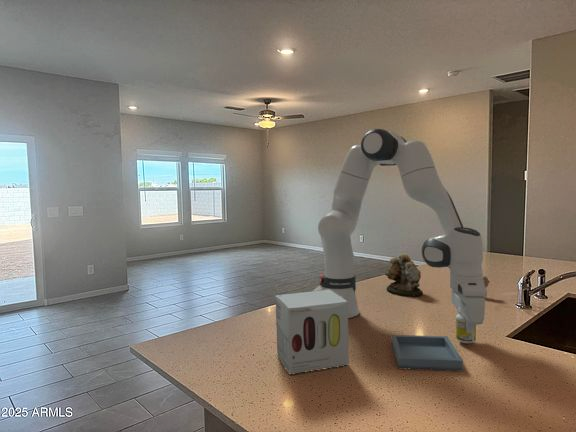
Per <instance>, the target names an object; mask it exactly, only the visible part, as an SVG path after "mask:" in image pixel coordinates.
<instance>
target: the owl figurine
mask: <svg viewBox="0 0 576 432" xmlns="http://www.w3.org/2000/svg"><path fill="white" fill-rule="evenodd" d="M389 264H390V265H389V266H388V269H387V272H385V274H384V275H385V276H387V279H388V280H392V281H393V282H390V284H389V285H387V286H386V291H387V293H391V294H392V295H396V296H399V297H405V298H406V297H409V298H412V297H415V298H417V297H421V296H423V295H424V292H423V290H421V289H420V288H419V287H420V283H419V282H420V280H421V276H422V275H421V274H422V273H421V272H422V271H420V269H419V268H418V267H417V266H416V264H415V263H414V261H413V260H411V258H410V256H409V255H408V254H406V253H401V254H400V255H399V257H397V256H394V257H391V258H390V260H389Z"/></svg>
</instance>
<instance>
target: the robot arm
mask: <svg viewBox="0 0 576 432" xmlns="http://www.w3.org/2000/svg"><path fill="white" fill-rule="evenodd" d="M430 152H431V151H429V149H428V147H427V145H426V144H425V143H424V142H423V141H421V140H417V139H416V140H415V139H414V140H409V141H407V140H406V139H405V138H404V137H402V136H400V135H398V134H397V133H395V132H393V131H389V130H386V129H382V128H374V129H370V130H369V131H367V132H366V133H364V135H363V136H362V139H361V141H360V144H355V145H352V147H350V149H349V150H348V152H347V154H346V156H345V158H344V160H343V162H342V165H341V168H340V170H339V173H338V177H337V180H336V183H335V187H334V189H333V198H332V203H331V204H332V205H331V209H330V211H329V212H327V213H325V214H324V215H323V216H322V217H321V218H320V221H319V222H318V225H317V230H318V234H319V235H320V240H321V245H322V249H323V258H324V262H323V263H324V274H320V275H319V277H318V279H319V285H318V286H317V287H316V288H315V289H313V290H312V291H318V290H327V289H330V290H331V291H333V292H334V293H336V294H337V295H339V296H340V297H342V298H343V299H345V300H346V301H348V319H350V318H353V317H356V316H359V314H360V309H359V305H358V301H357V294H356V291H357V279H356V278H357V277H356V275H355V255H354V252H353V251H354V250H353V246H352V245H353V244H352V240H351V235H352V234H353V233H354V232H355V230H356V227H357V224H358V220H359V216H360V213H361V210H362V209H361V208H362V204H363V200H364V197H365V195H366V191H367V188H368V185H369V182H370V180H371V176H372V174H373V173H372V172H373V170H374V169H375V167H376V166H378V165H380V166H381V167H383V166H387V167H388V166H389V167H390V166H392V167H393V166H397V168H398V171H399V175H400V179H401V182H402V187H403V188H404V191H405V193H406V194H407V196H408V197H409V198H411V199H412V200H414V201H416V202H419V203H421V204H424V205H426V206H428V207H429V208H431V209H432V210H433V211H434V212H435V214H436V216H437V218H438V221H439V223H440V225H441V228H442V231H443V233H444V234H441V235H437V236H433V237H429V238H427V239H426V240H425V241H424V242H423V244H422V246H421V257H422V259H423V261H424V262H425V264H427V266H429V267H431V268H436V269H437V268H439V269H440V268H448V269H449V287H450V289H451V294H450V296H451V298H450V299H451V303H452V305H454V307H455V308H456V310H457V314H459V311H458V308H460V312H461V314H462V315H463V316H464V318H465V319H466V326H465V331H466V332H467V333H473V327H474V325H475V324H476V325H482V324H483V323H484V320H485V312H486V311H485V310H486V298H487V296H488V289H487V287H485V285H484V282H483V276H484V272H483V269H482V267H483V266H482V264H483V262H484V243H483V237H482V235H481V233H480V232H479V231H478V230H477V229H474V228H471V227H464V225H463V222H462V220H461V217H460V216H459V213H458V211H457V208H456V206H455V204H454V201H453V198H452V197H451V194H450V193H449V191H448V190H447V189H446V188H445V187H444V185H443V183H442V181H441V180H440V176H439V175H438V171H437V169H436V165H435V161H434V160H433V159H434V158H433V157H432V154H431V153H430ZM485 297H486V298H485Z"/></svg>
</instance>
